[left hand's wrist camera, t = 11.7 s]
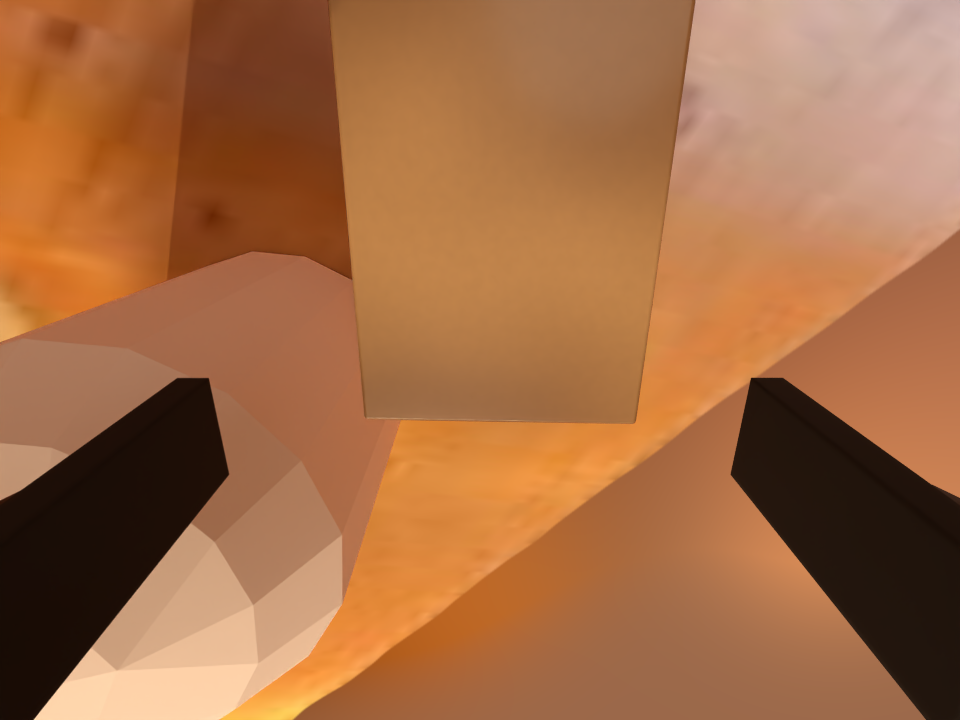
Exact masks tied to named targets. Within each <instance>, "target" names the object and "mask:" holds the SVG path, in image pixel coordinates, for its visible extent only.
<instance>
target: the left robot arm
mask: <svg viewBox="0 0 960 720" xmlns="http://www.w3.org/2000/svg"><path fill="white" fill-rule="evenodd" d="M228 476H229V470H228V466H227V461H226V456H225V451H224V447H223V442H222V437H221V433H220V428H219V423H218V419H217V414H216V409H215V404H214V400H213V395H212V390H211V386H210V381H209V378H176V379H175V380H174V381H172V382H171V383H169V384H168V385H167V386H165V387H164V388H162V389H161V390H160V391H158V392H157V393H155V394H154V395H153V396H151V397H150V398H149V399H147V400H146V401H144V402H143V403H142V404H140V405H139V406H137V407H136V408H135V409H133V410H132V411H130V412H129V413H128V414H126V415H125V416H123V417H122V418H121V419H119V420H118V421H117V422H115V423H114V424H112V425H111V426H110V427H108V428H107V429H105V430H104V431H103V432H101V433H100V434H98V435H97V436H96V437H94V438H93V439H91V440H90V441H89V442H87V443H86V444H85V445H83V446H82V447H80V448H79V449H78V450H76V451H75V452H73V453H72V454H71V455H69V456H68V457H66V458H65V459H64V460H62V461H61V462H59V463H58V464H57V465H55V466H54V467H52V468H51V469H50V470H48V471H47V472H46V473H44V474H43V475H41V476H40V477H39V478H37V479H36V480H34V481H33V482H32V483H30V484H29V485H27V486H26V487H25V488H23V489H22V490H20V491H18V492H16V493H14V494H12V495H10V496H8V497H6V498H4V499H2V500H0V720H34V719H35V718H36V716H37V715H38V714H39V713H40V711H41V710H42V709H43V708H44V706H45V705H46V704H47V703H48V701H49V700H50V699H51V698H52V696H53V695H54V694H55V693H56V691H57V690H58V689H59V688H60V686H61V685H62V684H63V683H64V681H65V680H66V679H67V678H68V676H69V675H70V674H71V672H72V671H73V670H74V669H75V667H76V666H77V665H78V664H79V662H80V661H81V660H82V659H83V657H84V656H85V655H86V654H87V652H88V651H89V650H90V649H91V647H92V646H93V645H94V644H95V642H96V641H97V640H98V639H99V637H100V636H101V635H102V634H103V632H104V631H105V630H106V629H107V627H108V626H109V625H110V624H111V622H112V621H113V620H114V619H115V617H116V616H117V615H118V614H119V612H120V611H121V610H122V609H123V607H124V606H125V605H126V604H127V602H128V601H129V600H130V599H131V597H132V596H133V595H134V593H135V592H136V591H137V590H138V588H139V587H140V586H141V585H142V583H143V582H144V581H145V580H146V578H147V577H148V576H149V575H150V573H151V572H152V571H153V570H154V568H155V567H156V566H157V565H158V563H159V562H160V561H161V560H162V558H163V557H164V556H165V555H166V553H167V552H168V551H169V550H170V548H171V547H172V546H173V545H174V543H175V542H176V541H177V540H178V538H179V537H180V536H181V535H182V533H183V532H184V531H185V530H186V528H187V527H188V526H189V525H190V523H191V522H192V521H193V520H194V518H195V517H196V516H197V515H198V513H199V512H200V511H201V509H202V508H203V507H204V506H205V504H206V503H207V502H208V501H209V499H210V498H211V497H212V496H213V494H214V493H215V492H216V491H217V489H218V488H219V487H220V486H221V484H222V483H223V482H224V481H225V479H226V478H227V477H228ZM731 476H732V477H733V478H734V479H735V481H736V482H737V483H738V484H739V486H740V487H741V488H742V489H743V491H744V492H745V493H746V494H747V496H748V497H749V498H750V499H751V501H752V502H753V503H754V504H755V506H756V507H757V508H758V509H759V511H760V512H761V513H762V515H763V516H764V517H765V518H766V520H767V521H768V522H769V523H770V525H771V526H772V527H773V528H774V530H775V531H776V532H777V533H778V535H779V536H780V537H781V538H782V540H783V541H784V542H785V543H786V545H787V546H788V547H789V548H790V550H791V551H792V552H793V553H794V555H795V556H796V557H797V558H798V560H799V561H800V562H801V563H802V565H803V566H804V567H805V568H806V570H807V571H808V572H809V573H810V575H811V576H812V577H813V578H814V580H815V581H816V582H817V583H818V585H819V586H820V587H821V588H822V590H823V591H824V592H825V593H826V595H827V596H828V597H829V598H830V600H831V601H832V602H833V603H834V605H835V606H836V607H837V608H838V610H839V611H840V612H841V614H842V615H843V616H844V617H845V619H846V620H847V621H848V622H849V624H850V625H851V626H852V627H853V629H854V630H855V631H856V632H857V634H858V635H859V636H860V637H861V639H862V640H863V641H864V642H865V644H866V645H867V646H868V647H869V649H870V650H871V651H872V652H873V654H874V655H875V656H876V657H877V659H878V660H879V661H880V662H881V664H882V665H883V666H884V667H885V669H886V670H887V671H888V672H889V674H890V675H891V676H892V678H893V679H894V680H895V681H896V683H897V684H898V685H899V686H900V688H901V689H902V690H903V691H904V692H905V694H906V695H907V696H908V698H909V699H910V700H911V701H912V703H913V704H914V705H915V706H916V708H917V709H918V710H919V711H920V713H921V714H922V715H923V716H924V718H925V719H926V720H960V498H959V497H957V496H955V495H952V494H950V493H948V492H946V491H944V490H942V489H940V488H938V487H936V486H934V485H931V484H930V483H928V482H927V481H926V480H924V479H923V478H921V477H920V476H919V475H917V474H916V473H914V472H913V471H912V470H910V469H909V468H908V467H906V466H905V465H903V464H902V463H901V462H899V461H898V460H896V459H895V458H893V457H892V456H891V455H889V454H888V453H887V452H885V451H884V450H882V449H881V448H880V447H878V446H877V445H875V444H874V443H873V442H871V441H870V440H869V439H867V438H866V437H864V436H863V435H862V434H860V433H859V432H857V431H856V430H855V429H853V428H852V427H850V426H849V425H848V424H846V423H845V422H843V421H842V420H841V419H839V418H838V417H837V416H835V415H834V414H832V413H831V412H830V411H828V410H827V409H825V408H824V407H823V406H821V405H820V404H818V403H817V402H816V401H814V400H813V399H811V398H810V397H809V396H807V395H806V394H805V393H803V392H802V391H800V390H799V389H798V388H796V387H795V386H793V385H792V384H791V383H789V382H788V381H786V380H785V379H784V378H751V381H750V386H749V390H748V395H747V400H746V404H745V409H744V414H743V419H742V423H741V428H740V433H739V437H738V442H737V447H736V451H735V456H734V461H733V466H732V470H731Z"/></svg>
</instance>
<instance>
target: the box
mask: <svg viewBox="0 0 960 720" xmlns="http://www.w3.org/2000/svg"><path fill="white" fill-rule="evenodd" d="M694 7H695V0H328V9H329V20H330V32H331V43H332V55H333V66H334V77H335V89H336V100H337V112H338V123H339V134H340V146H341V157H342V168H343V180H344V191H345V203H346V214H347V225H348V237H349V248H350V260H351V271H352V282H353V294H354V305H355V317H356V328H357V339H358V351H359V362H360V373H361V385H362V396H363V408H364V416H365V419H373V420H431V421H489V422H547V423H605V424H634V423H635V421H636V416H637V409H638V402H639V395H640V388H641V381H642V374H643V367H644V360H645V353H646V346H647V338H648V331H649V324H650V317H651V310H652V303H653V296H654V289H655V282H656V275H657V268H658V261H659V254H660V247H661V240H662V233H663V226H664V219H665V211H666V204H667V197H668V190H669V183H670V176H671V169H672V162H673V155H674V148H675V141H676V134H677V127H678V120H679V113H680V106H681V99H682V92H683V85H684V77H685V70H686V63H687V56H688V49H689V42H690V35H691V28H692V21H693V14H694Z"/></svg>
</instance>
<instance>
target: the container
mask: <svg viewBox="0 0 960 720" xmlns="http://www.w3.org/2000/svg"><path fill="white" fill-rule="evenodd" d="M176 378H209V381H210V386H211V390H212V395H213V400H214V404H215V409H216V414H217V419H218V423H219V428H220V433H221V437H222V442H223V447H224V451H225V456H226V461H227V466H228V470H229V476H228V477H227V478H226V479H225V481H224V482H223V483H222V484H221V486H220V487H219V488H218V489H217V491H216V492H215V493H214V494H213V496H212V497H211V498H210V499H209V501H208V502H207V503H206V504H205V506H204V507H203V508H202V509H201V511H200V512H199V513H198V515H197V516H196V517H195V518H194V520H193V521H192V522H191V523H190V525H189V526H188V527H187V528H186V530H185V531H184V532H183V533H182V535H181V536H180V537H179V538H178V540H177V541H176V542H175V543H174V545H173V546H172V547H171V548H170V550H169V551H168V552H167V553H166V555H165V556H164V557H163V558H162V560H161V561H160V562H159V563H158V565H157V566H156V567H155V568H154V570H153V571H152V572H151V573H150V575H149V576H148V577H147V578H146V580H145V581H144V582H143V583H142V585H141V586H140V587H139V588H138V590H137V591H136V592H135V593H134V595H133V596H132V597H131V599H130V600H129V601H128V602H127V604H126V605H125V606H124V607H123V609H122V610H121V611H120V612H119V614H118V615H117V616H116V617H115V619H114V620H113V621H112V622H111V624H110V625H109V626H108V627H107V629H106V630H105V631H104V632H103V634H102V635H101V636H100V637H99V639H98V640H97V641H96V642H95V644H94V645H93V646H92V647H91V649H90V650H89V651H88V652H87V654H86V655H85V656H84V657H83V659H82V660H81V661H80V662H79V664H78V665H77V666H76V667H75V669H74V670H73V671H72V672H71V674H70V675H69V676H68V678H67V679H66V680H65V681H64V683H63V684H62V685H61V686H60V688H59V689H58V690H57V691H56V693H55V694H54V695H53V696H52V698H51V699H50V700H49V701H48V703H47V704H46V705H45V706H44V708H43V709H42V710H41V711H40V713H39V714H38V715H37V716H36V718H35V719H34V720H219V719H221V718H222V717H224V716H225V715H227V714H228V713H230V712H231V711H233V710H235V709H236V708H237V707H239V706H240V705H241V704H243V703H244V702H246V701H247V700H248V699H250V698H251V697H253V696H254V695H255V694H257V693H258V692H259V691H261V690H262V689H264V688H265V687H266V686H268V685H269V684H270V683H272V682H273V681H275V680H276V679H277V678H279V677H280V676H282V675H283V674H284V673H286V672H287V671H288V670H290V669H291V668H293V667H294V666H295V665H297V664H298V663H300V662H301V661H302V660H304V659H305V658H306V657H308V656H309V655H310V653H311V651H312V650H313V648H314V647H315V645H316V644H317V642H318V641H319V639H320V637H321V636H322V634H323V633H324V631H325V630H326V628H327V627H328V625H329V624H330V622H331V620H332V619H333V617H334V616H335V614H336V613H337V611H338V610H339V608H340V606H341V605H342V603H343V600H344V597H345V594H346V591H347V587H348V584H349V581H350V578H351V575H352V572H353V568H354V565H355V562H356V559H357V556H358V553H359V550H360V546H361V543H362V540H363V537H364V534H365V531H366V527H367V524H368V521H369V518H370V515H371V512H372V509H373V505H374V502H375V499H376V496H377V493H378V490H379V487H380V483H381V480H382V477H383V474H384V471H385V468H386V464H387V461H388V458H389V455H390V452H391V449H392V446H393V442H394V439H395V436H396V433H397V430H398V427H399V424H400V420H373V419H365V416H364V408H363V396H362V385H361V373H360V362H359V351H358V339H357V328H356V317H355V305H354V294H353V282H352V280H351V279H349V278H347V277H345V276H343V275H341V274H339V273H337V272H335V271H333V270H331V269H329V268H327V267H325V266H323V265H321V264H319V263H317V262H315V261H313V260H311V259H309V258H307V257H305V256H295V255H284V254H274V253H264V252H254V251H252V252H249V253H246V254H243V255H240V256H237V257H234V258H230V259H227V260H224V261H221V262H218V263H215V264H212V265H209V266H206V267H203V268H200V269H198V270H195V271H192V272H190V273H187V274H184V275H181V276H179V277H176V278H173V279H171V280H168V281H165V282H162V283H160V284H157V285H154V286H152V287H149V288H146V289H143V290H141V291H138V292H135V293H133V294H130V295H127V296H124V297H122V298H119V299H116V300H114V301H111V302H108V303H106V304H103V305H100V306H97V307H95V308H92V309H89V310H87V311H84V312H81V313H78V314H76V315H73V316H70V317H68V318H65V319H62V320H59V321H57V322H54V323H51V324H49V325H46V326H43V327H41V328H38V329H35V330H32V331H30V332H27V333H24V334H22V335H19V336H16V337H13V338H11V339H8V340H5V341H3V342H0V500H2V499H4V498H6V497H8V496H10V495H12V494H14V493H16V492H18V491H20V490H22V489H23V488H25V487H26V486H27V485H29V484H30V483H32V482H33V481H34V480H36V479H37V478H39V477H40V476H41V475H43V474H44V473H46V472H47V471H48V470H50V469H51V468H52V467H54V466H55V465H57V464H58V463H59V462H61V461H62V460H64V459H65V458H66V457H68V456H69V455H71V454H72V453H73V452H75V451H76V450H78V449H79V448H80V447H82V446H83V445H85V444H86V443H87V442H89V441H90V440H91V439H93V438H94V437H96V436H97V435H98V434H100V433H101V432H103V431H104V430H105V429H107V428H108V427H110V426H111V425H112V424H114V423H115V422H117V421H118V420H119V419H121V418H122V417H123V416H125V415H126V414H128V413H129V412H130V411H132V410H133V409H135V408H136V407H137V406H139V405H140V404H142V403H143V402H144V401H146V400H147V399H149V398H150V397H151V396H153V395H154V394H155V393H157V392H158V391H160V390H161V389H162V388H164V387H165V386H167V385H168V384H169V383H171V382H172V381H174V380H175V379H176Z"/></svg>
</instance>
